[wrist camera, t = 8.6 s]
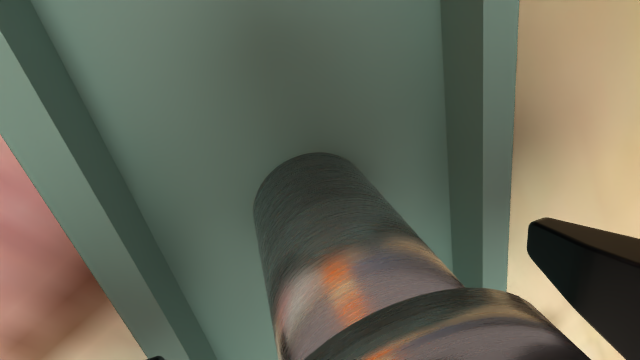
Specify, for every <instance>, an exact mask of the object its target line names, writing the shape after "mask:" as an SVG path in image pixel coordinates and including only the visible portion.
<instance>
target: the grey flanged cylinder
mask: <svg viewBox="0 0 640 360" xmlns="http://www.w3.org/2000/svg"><path fill="white" fill-rule="evenodd" d="M253 219H254V225H255V231H256V237H257V242H258V248H259V254H260V259H261V265H262V270H263V276H264V282H265V287H266V293H267V299H268V304H269V310H270V316H271V321H272V327H273V333H274V338H275V344H276V350H277V355H278V360H591V359H590V358H589V357H587V356H586V355H585V354H584V353H583V352H582V351H581V350H580V349H579V348H578V347H577V346H576V345H575V344H573V343H572V342H571V341H570V340H569V339H568V338H567V337H566V336H565V335H564V334H563V333H562V332H561V331H560V330H558V329H557V328H556V327H555V326H554V325H553V324H552V323H551V322H550V321H549V320H548V319H547V318H546V317H544V316H543V315H542V314H541V313H540V312H539V311H538V310H537V309H536V308H535V307H534V306H533V305H532V304H530V303H529V302H527V301H526V300H524V299H522V298H520V297H519V296H516V295H513V294H511V293H508V292H505V291H501V290H495V289H489V288H465V287H464V285H463V284H462V283H461V282H460V281H459V280H458V279H457V278H456V277H455V275H454V274H453V273H452V272H451V271H450V270H449V269H448V268H447V267H446V265H445V264H444V263H443V262H442V261H441V260H440V259H439V258H438V257H437V255H436V254H435V253H434V252H433V251H432V250H431V249H430V248H429V247H428V245H427V244H426V243H425V242H424V241H423V240H422V239H421V238H420V237H419V236H418V234H417V233H416V232H415V231H414V230H413V229H412V228H411V227H410V226H409V224H408V223H407V222H406V221H405V220H404V219H403V218H402V217H401V216H400V214H399V213H398V212H397V211H396V210H395V209H394V208H393V207H392V206H391V204H390V203H389V202H388V201H387V200H386V199H385V198H384V197H383V196H382V194H381V193H380V192H379V191H378V190H377V189H376V188H375V187H374V186H373V184H372V183H371V182H370V181H369V180H368V179H367V178H366V177H365V176H364V174H363V173H362V172H361V171H360V170H359V169H358V168H357V167H356V166H355V165H354V164H353V163H351V162H350V161H348V160H347V159H345V158H343V157H341V156H338V155H334V154H330V153H320V152H315V153H307V154H303V155H299V156H296V157H294V158H291V159H289V160H287V161H285V162H284V163H282V164H281V165H279V166H278V167H276V168H275V169H274V170H273V171H272V172H271V173H270V174H269V175H268V176H267V177H266V178H265V180H264V181H263V183H262V184H261V186H260V188H259V189H258V191H257V194H256V197H255V200H254V205H253Z"/></svg>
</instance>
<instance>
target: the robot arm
mask: <svg viewBox="0 0 640 360" xmlns="http://www.w3.org/2000/svg"><path fill="white" fill-rule="evenodd" d="M527 251H528V254H529V256H530V257H531V259H532V260H533V261H534V262H535V264H536V265H537V266H538V267H539V268H540V269H541V271H542V272H543V273H544V274H545V275H546V277H547V278H548V279H549V280H550V281H551V282H552V284H553V285H554V286H555V287H556V288H557V289H558V291H559V292H560V293H561V294H562V295H563V296H564V298H565V299H566V300H567V301H568V302H569V303H570V304H571V306H572V307H573V308H574V309H575V310H576V311H577V312H578V313H579V314H580V315H581V316H582V317H583V318H584V319H585V320H586V321H587V322H588V323H589V324H590V325H591V326H592V327H593V328H594V329H595V330H596V331H597V332H598V333H599V334H600V335H601V336H602V337H603V338H604V339H605V340H606V341H607V342H608V343H610V344H611V345H612V346H613V347H614V348H615V349H616V350H617V351H618V352H619V353H620V354H621V355H622V356H623V357H624V358H625V359H626V360H640V239H638V238H633V237H629V236H625V235H621V234H616V233H612V232H608V231H603V230H599V229H595V228H591V227H586V226H582V225H578V224H573V223H569V222H565V221H561V220H556V219H552V218H542V219H539V220H536V221H533V222H531V223H530V225H529V227H528V239H527ZM147 360H165V359H164V358H163V357H162V356H155V357H152V358H149V359H147Z"/></svg>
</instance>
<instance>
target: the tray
mask: <svg viewBox="0 0 640 360" xmlns="http://www.w3.org/2000/svg"><path fill="white" fill-rule="evenodd" d="M518 17H519V0H0V134H1V136H2V138H3V139H4V141H5V142H6V144H7V145H8V147H9V148H10V150H11V151H12V153H13V154H14V156H15V157H16V159H17V160H18V162H19V163H20V165H21V166H22V168H23V169H24V171H25V172H26V174H27V176H28V177H29V179H30V180H31V182H32V183H33V185H34V186H35V188H36V189H37V191H38V192H39V194H40V195H41V197H42V198H43V200H44V201H45V203H46V204H47V206H48V207H49V209H50V210H51V212H52V213H53V215H54V217H55V218H56V220H57V221H58V223H59V224H60V226H61V227H62V229H63V230H64V232H65V233H66V235H67V236H68V238H69V239H70V241H71V242H72V244H73V245H74V247H75V248H76V250H77V251H78V253H79V255H80V256H81V258H82V259H83V261H84V262H85V264H86V265H87V267H88V268H89V270H90V271H91V273H92V274H93V276H94V277H95V279H96V280H97V282H98V283H99V285H100V286H101V288H102V289H103V291H104V292H105V294H106V296H107V297H108V299H109V300H110V302H111V303H112V305H113V306H114V308H115V309H116V311H117V312H118V314H119V315H120V317H121V318H122V320H123V321H124V323H125V324H126V326H127V327H128V329H129V330H130V332H131V333H132V335H133V337H134V338H135V340H136V341H137V343H138V344H139V346H140V347H141V349H142V350H143V352H144V353H145V355H146V356H147V358H148V359H149V358H152V357H155V356H162V357H163V358H164V359H165V360H278V355H277V350H276V344H275V338H274V333H273V327H272V321H271V316H270V310H269V304H268V299H267V293H266V287H265V282H264V276H263V270H262V265H261V259H260V254H259V248H258V242H257V237H256V231H255V225H254V219H253V205H254V200H255V197H256V194H257V191H258V189H259V188H260V186H261V184H262V183H263V181H264V180H265V178H266V177H267V176H268V175H269V174H270V173H271V172H272V171H273V170H274V169H275V168H276V167H278V166H279V165H281V164H282V163H284V162H285V161H287V160H289V159H291V158H294V157H296V156H299V155H303V154H307V153H315V152H320V153H330V154H334V155H338V156H341V157H343V158H345V159H347V160H348V161H350V162H351V163H353V164H354V165H355V166H356V167H357V168H358V169H359V170H360V171H361V172H362V173H363V174H364V176H365V177H366V178H367V179H368V180H369V181H370V182H371V183H372V184H373V186H374V187H375V188H376V189H377V190H378V191H379V192H380V193H381V194H382V196H383V197H384V198H385V199H386V200H387V201H388V202H389V203H390V204H391V206H392V207H393V208H394V209H395V210H396V211H397V212H398V213H399V214H400V216H401V217H402V218H403V219H404V220H405V221H406V222H407V223H408V224H409V226H410V227H411V228H412V229H413V230H414V231H415V232H416V233H417V234H418V236H419V237H420V238H421V239H422V240H423V241H424V242H425V243H426V244H427V245H428V247H429V248H430V249H431V250H432V251H433V252H434V253H435V254H436V255H437V257H438V258H439V259H440V260H441V261H442V262H443V263H444V264H445V265H446V267H447V268H448V269H449V270H450V271H451V272H452V273H453V274H454V275H455V277H456V278H457V279H458V280H459V281H460V282H461V283H462V284H463V285H464V287H465V288H489V289H495V290H501V291H505V292H506V289H507V266H508V243H509V221H510V198H511V175H512V153H513V130H514V107H515V85H516V62H517V39H518Z"/></svg>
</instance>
